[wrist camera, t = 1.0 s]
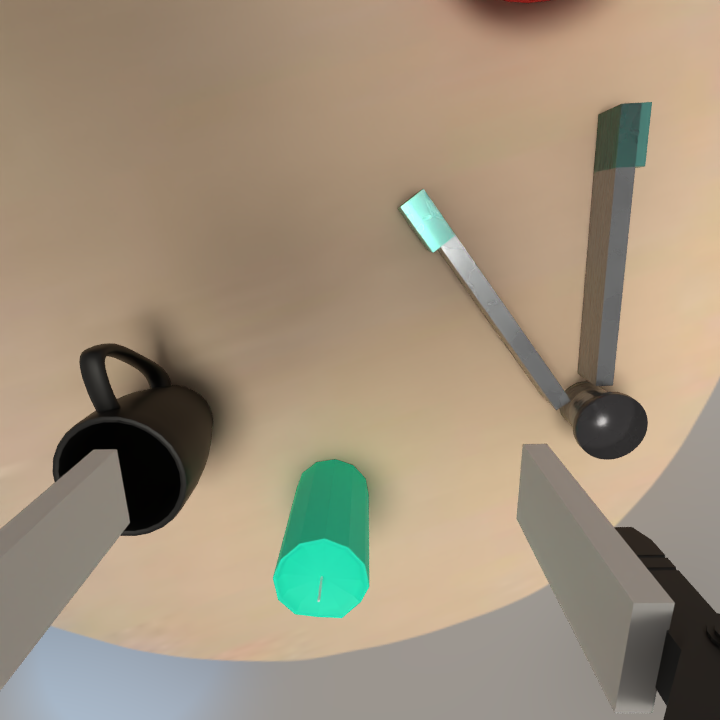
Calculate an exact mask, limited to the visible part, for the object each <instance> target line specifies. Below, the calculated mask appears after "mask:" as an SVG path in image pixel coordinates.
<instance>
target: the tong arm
mask: <svg viewBox="0 0 720 720" xmlns="http://www.w3.org/2000/svg"><path fill="white" fill-rule="evenodd" d="M398 210H399V211H400V213H401V214H402V215H403V217H404V218H405V219H406V221H407V222H408V224H409V225H410V226H411V228H412V229H413V231H414V232H415V233H416V235H417V236H418V238H419V239H420V240H421V242H422V243H423V245H424V246H425V247H426V249H427V250H428V251H430V252H435V251H436V250H437V249H438V251H439V252H440V254H441V255H442V256H443V258H444V259H445V261H446V262H447V263H448V265H449V266H450V268H451V269H452V270H453V272H454V273H455V275H456V276H457V277H458V279H459V280H460V282H461V283H462V284H463V286H464V287H465V289H466V290H467V291H468V293H469V294H470V296H471V297H472V299H473V300H474V301H475V303H476V304H477V306H478V307H479V308H480V310H481V311H482V313H483V314H484V315H485V317H486V318H487V320H488V321H489V322H490V324H491V325H492V327H493V328H494V329H495V331H496V332H497V334H498V335H499V336H500V338H501V339H502V341H503V342H504V343H505V345H506V346H507V348H508V349H509V351H510V352H511V353H512V355H513V356H514V358H515V359H516V360H517V362H518V363H519V365H520V366H521V367H522V369H523V370H524V372H525V373H526V374H527V376H528V377H529V379H530V380H531V381H532V383H533V384H534V386H535V387H536V388H537V390H538V391H539V393H540V394H541V395H542V397H543V398H544V399H545V400H546V401H548V402H549V403H550V404H551V405H552V406H553V407H554V408H555V409H556V410H558V409H559V408H561V407H562V406H564V405H565V404H567V403H568V402H570V401H571V400H570V399H569V397H568V396H567V394H566V393H565V391H564V390H563V389H562V387H561V386H560V384H559V383H558V381H557V380H556V379H555V377H554V376H553V374H552V373H551V371H550V370H549V368H548V367H547V366H546V364H545V363H544V361H543V360H542V358H541V357H540V356H539V354H538V353H537V351H536V350H535V348H534V347H533V346H532V344H531V343H530V341H529V340H528V338H527V337H526V335H525V334H524V333H523V331H522V330H521V328H520V327H519V325H518V324H517V323H516V321H515V320H514V318H513V317H512V315H511V314H510V312H509V311H508V310H507V308H506V307H505V305H504V304H503V302H502V301H501V300H500V298H499V297H498V295H497V294H496V292H495V291H494V290H493V288H492V287H491V285H490V284H489V282H488V281H487V279H486V278H485V277H484V275H483V274H482V272H481V271H480V269H479V268H478V267H477V265H476V264H475V262H474V261H473V259H472V258H471V256H470V255H469V254H468V252H467V251H466V249H465V248H464V246H463V245H462V244H461V242H460V241H459V239H458V238H457V236H456V235H455V234H454V232H453V231H452V229H451V228H450V226H449V225H448V223H447V222H446V221H445V219H444V218H443V216H442V215H441V213H440V212H439V211H438V209H437V208H436V206H435V205H434V203H433V202H432V200H431V199H430V198H429V196H428V195H427V193H426V192H425V190H424V189H422V190H421V191H419V192H418V193H416V194H415V195H414V196H413V197H411V198H410V199H409V200H408V201H406V202H405V203H404V204H403V205H401V206H400V207H399V208H398Z"/></svg>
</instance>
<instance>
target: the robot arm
mask: <svg viewBox="0 0 720 720" xmlns="http://www.w3.org/2000/svg"><path fill="white" fill-rule="evenodd" d="M517 521H518V522H519V524H520V526H521V528H522V530H523V532H524V534H525V536H526V538H527V540H528V542H529V544H530V546H531V548H532V550H533V552H534V554H535V556H536V558H537V560H538V562H539V564H540V566H541V568H542V570H543V572H544V574H545V576H546V578H547V580H548V582H549V584H550V586H551V588H552V590H553V592H554V594H555V596H556V598H557V600H558V602H559V604H560V606H561V608H562V610H563V612H564V614H565V616H566V618H567V620H568V621H569V624H570V626H571V628H572V629H573V632H574V634H575V635H576V638H577V640H578V642H579V644H580V646H581V648H582V650H583V651H584V653H585V655H586V657H587V659H588V661H589V663H590V665H591V667H592V669H593V671H594V673H595V675H596V677H597V679H598V681H599V683H600V685H601V687H602V689H603V691H604V693H605V695H606V697H607V699H608V701H609V703H610V705H611V707H612V709H613V711H614V713H652V712H653V707H654V702H655V697H656V692H657V691H658V692H659V694H660V696H661V697H662V699H663V701H664V702H665V704H666V705H667V708H666V712H665V716H664V720H720V614H718V613H716V612H715V611H714V610H713V609H712V608H711V606H710V605H709V604H708V603H707V602H706V601H705V600H704V599H703V598H702V596H701V595H700V594H699V593H698V592H697V591H696V589H695V588H694V587H693V586H692V585H691V584H690V583H689V582H688V581H687V579H686V578H685V577H684V576H683V575H682V574H681V573H680V571H678V570H676V567H675V566H674V565H673V564H672V563H671V561H670V560H669V559H668V558H665V555H664V553H663V552H662V551H661V550H660V549H659V548H658V547H657V546H656V544H655V543H654V542H653V541H652V540H651V539H649V538H648V537H646V536H645V535H643V534H642V533H640V532H639V531H637V530H636V529H634V528H632V527H613V526H612V524H611V523H610V522H609V521H608V519H607V518H606V517H605V516H604V514H603V513H602V512H601V511H600V509H599V508H598V507H597V506H596V504H595V503H594V502H593V501H592V499H591V498H590V497H589V496H588V494H587V493H586V492H585V491H584V489H583V488H582V487H581V486H580V485H579V483H578V482H577V481H576V480H575V478H574V477H573V476H572V475H571V473H570V472H569V471H568V470H567V468H566V467H565V466H564V465H563V463H562V462H561V461H560V460H559V458H558V457H557V456H556V455H555V453H554V452H553V451H552V450H551V448H550V447H549V446H548V445H547V444H523V448H522V460H521V472H520V484H519V496H518V507H517ZM129 523H130V520H129V514H128V508H127V503H126V497H125V492H124V486H123V481H122V475H121V469H120V464H119V458H118V453H117V449H103V450H93V451H91V452H90V453H89V454H88V455H87V456H85V457H84V458H83V459H82V460H81V461H80V462H78V463H77V464H76V465H75V466H74V467H73V468H71V469H70V470H69V471H68V472H67V473H66V474H64V475H63V476H62V477H61V478H60V479H59V480H57V481H56V482H55V483H54V484H53V485H52V486H50V487H49V488H48V489H47V490H46V491H44V492H43V493H42V494H41V495H40V496H39V497H37V498H36V499H35V500H34V501H33V502H32V503H30V504H29V505H28V506H27V507H26V508H25V509H23V510H22V511H21V512H20V513H19V514H18V515H16V516H15V517H14V518H13V519H12V520H10V521H9V522H8V523H7V524H6V525H5V526H3V527H2V528H1V529H0V690H1V689H2V688H3V686H4V685H5V684H6V683H7V681H8V680H9V679H10V677H11V676H12V675H13V674H14V672H15V671H16V670H17V668H18V667H19V666H20V665H21V663H22V662H23V661H24V659H25V658H26V657H27V655H28V654H29V653H30V652H31V650H32V649H33V648H34V646H35V645H36V644H37V642H38V641H39V640H40V639H41V637H42V636H43V635H44V633H45V632H46V631H47V630H48V628H49V627H50V626H51V624H52V623H53V622H54V620H55V619H56V618H57V617H58V615H59V614H60V613H61V611H62V610H63V609H64V607H65V606H66V605H67V604H68V602H69V601H70V600H71V598H72V597H73V596H74V595H75V593H76V592H77V591H78V589H79V588H80V587H81V585H82V584H83V583H84V582H85V580H86V579H87V578H88V576H89V575H90V574H91V572H92V571H93V570H94V569H95V567H96V566H97V565H98V563H99V562H100V561H101V560H102V558H103V557H104V556H105V554H106V553H107V552H108V550H109V549H110V548H111V547H112V545H113V544H114V543H115V541H116V540H117V539H118V538H119V536H120V535H121V534H122V532H123V531H124V530H125V528H126V527H127V526H128V525H129Z"/></svg>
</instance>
